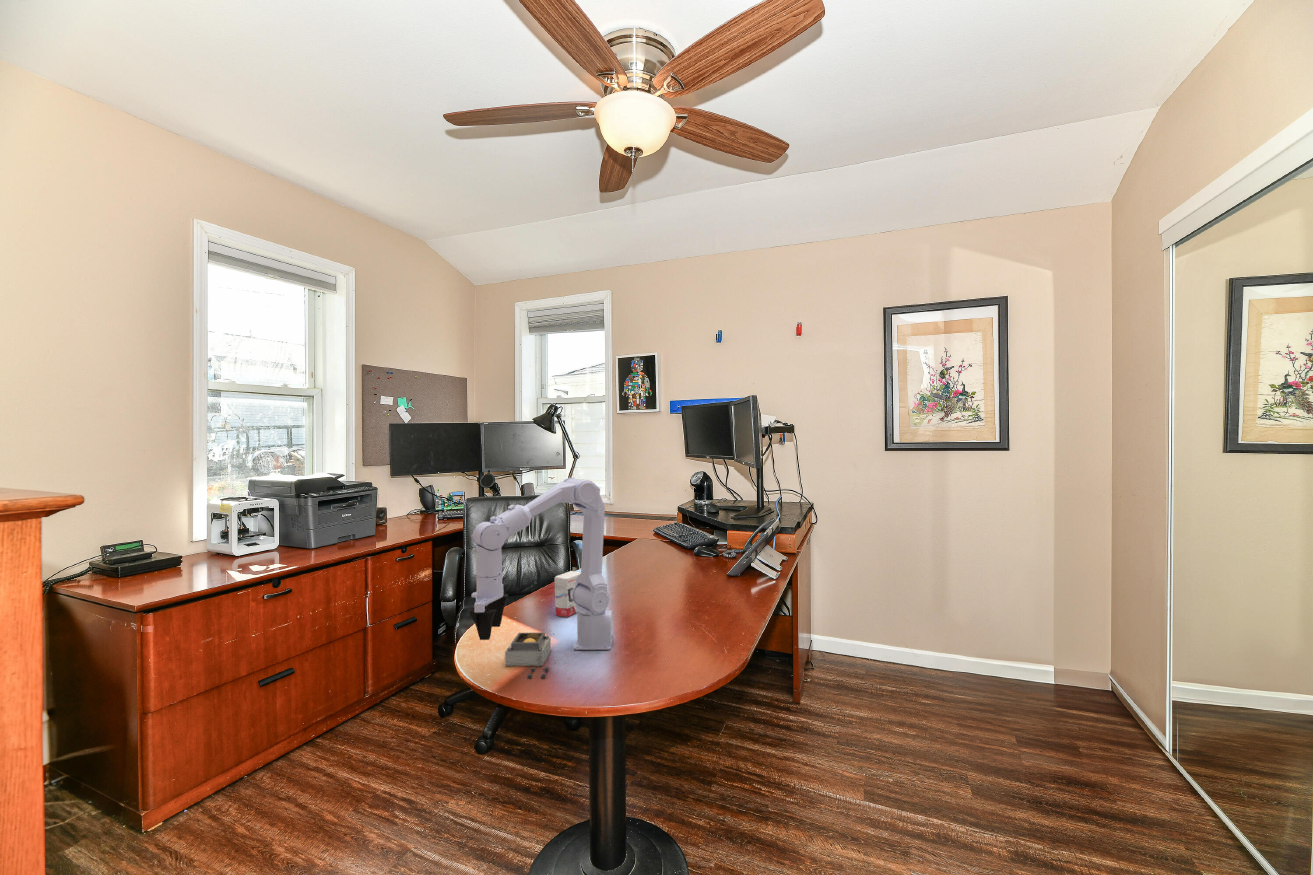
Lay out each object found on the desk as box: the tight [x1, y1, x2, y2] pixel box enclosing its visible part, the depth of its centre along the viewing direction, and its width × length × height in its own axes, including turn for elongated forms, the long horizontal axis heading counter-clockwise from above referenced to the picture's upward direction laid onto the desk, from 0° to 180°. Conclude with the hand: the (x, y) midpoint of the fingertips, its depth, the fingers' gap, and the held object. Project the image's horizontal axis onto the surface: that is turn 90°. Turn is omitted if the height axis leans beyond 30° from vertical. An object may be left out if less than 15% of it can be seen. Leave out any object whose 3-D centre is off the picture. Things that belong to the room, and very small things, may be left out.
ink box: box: [554, 570, 581, 618], centre depth 164 cm, size 9×5×12 cm, turn 150°
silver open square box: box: [504, 632, 552, 667], centre depth 132 cm, size 9×9×5 cm
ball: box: [523, 638, 536, 642], centre depth 133 cm, size 4×4×4 cm
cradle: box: [526, 666, 550, 680], centre depth 123 cm, size 4×4×1 cm
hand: (490, 632), depth 123 cm, fingers open, 7 cm apart
